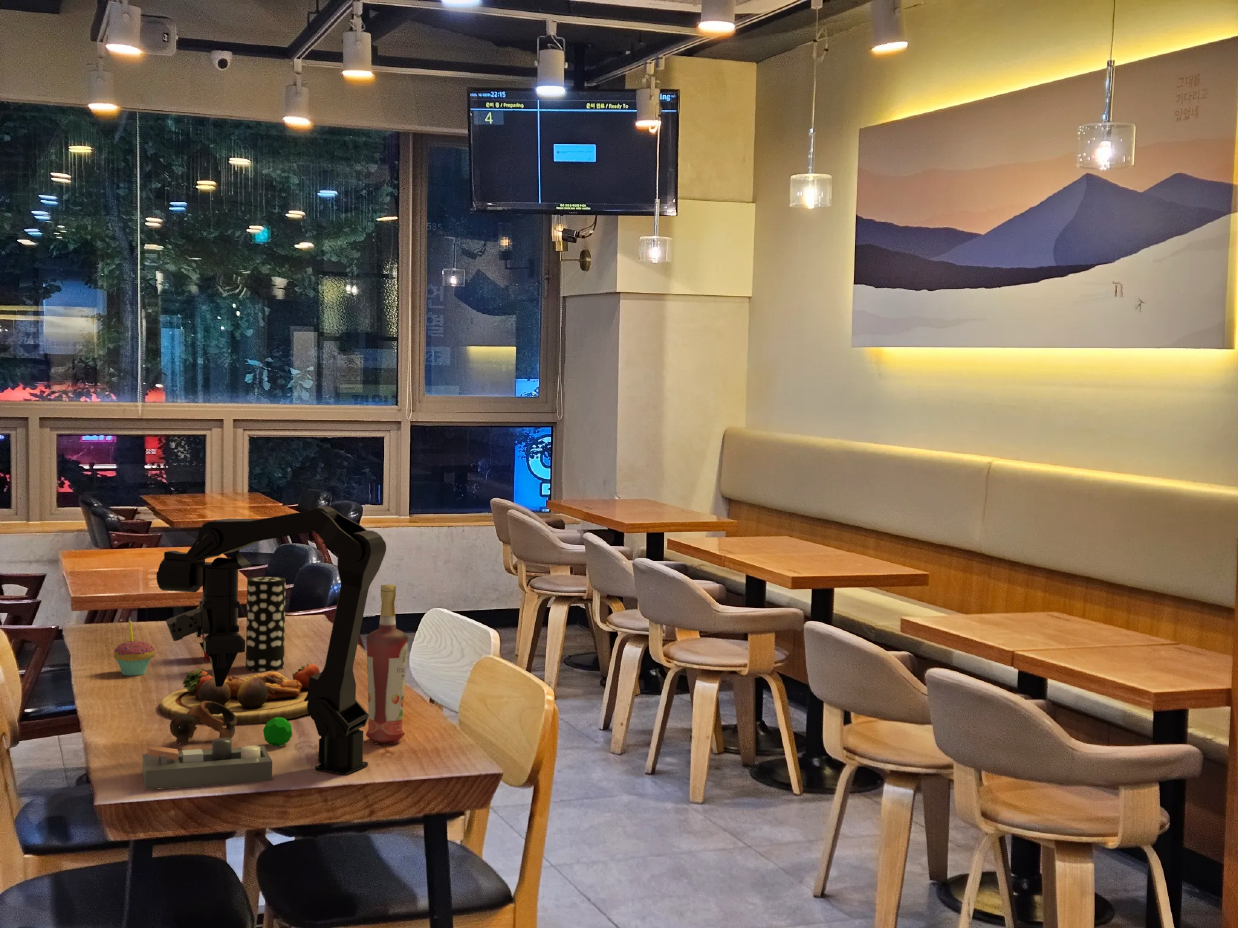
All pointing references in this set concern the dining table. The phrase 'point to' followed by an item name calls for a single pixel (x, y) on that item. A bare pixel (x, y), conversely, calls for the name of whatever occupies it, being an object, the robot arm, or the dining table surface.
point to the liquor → (386, 674)
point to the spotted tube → (265, 623)
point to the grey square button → (192, 756)
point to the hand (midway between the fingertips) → (218, 686)
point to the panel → (205, 770)
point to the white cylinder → (250, 752)
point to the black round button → (221, 749)
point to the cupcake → (133, 655)
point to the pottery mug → (203, 721)
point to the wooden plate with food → (245, 695)
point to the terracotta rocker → (163, 752)
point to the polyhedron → (277, 731)
